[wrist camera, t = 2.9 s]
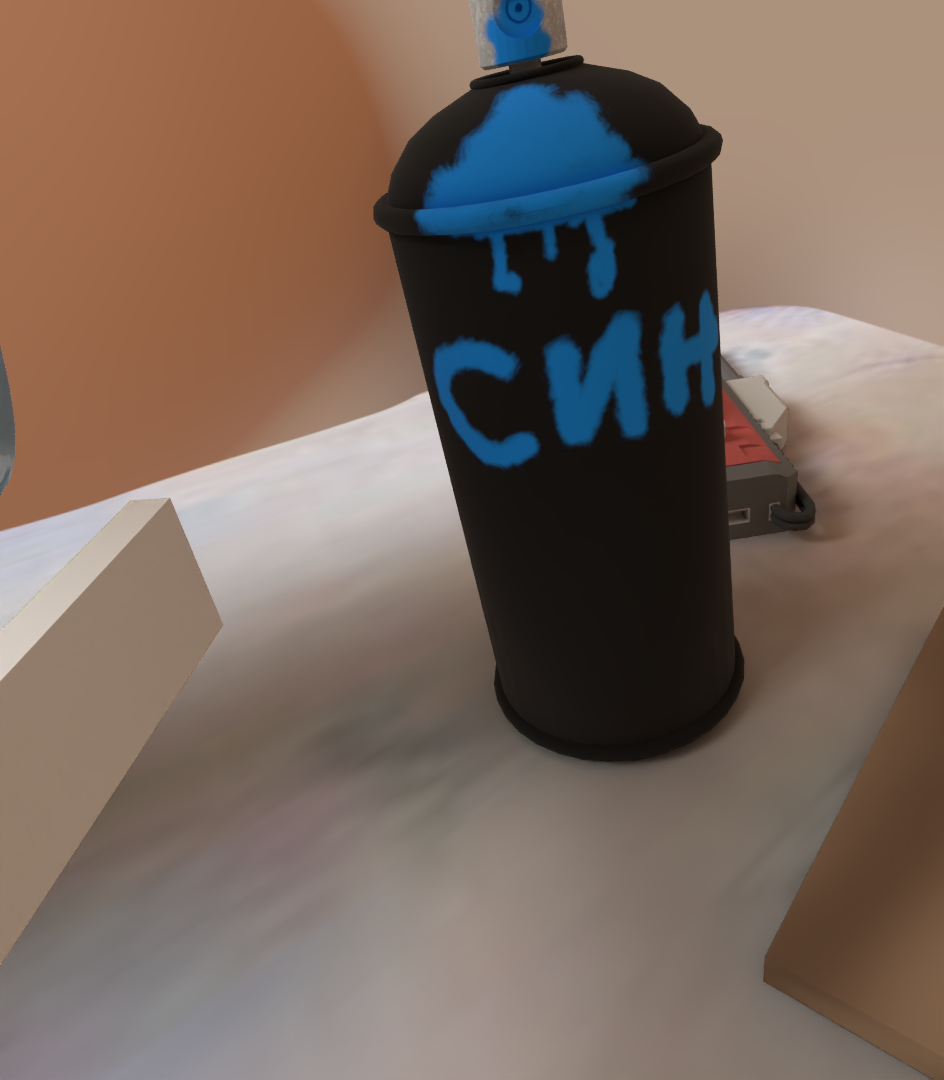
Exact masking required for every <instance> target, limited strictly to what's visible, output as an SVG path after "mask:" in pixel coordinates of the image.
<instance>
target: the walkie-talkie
mask: <svg viewBox="0 0 944 1080" xmlns="http://www.w3.org/2000/svg"><path fill="white" fill-rule="evenodd" d="M721 373H722V394H723V414H724V435H725V456H726V476H727V497H728V518H729V538H730V540H732V539H738V538H745V537H751V536H758V535H764V534H771V533H777V532H783V531H786V530H792V531H796V530H806V529H808V528H810V527H811V526H812V525H813V524H814V522H815V512H816V508H815V503H814V502H813V500H812V499H811V498H810V496H809V495H808V494H807V493H806V491H805V490H804V489H803V488H802V486H801V485H800V484H799V482H798V481H797V473H798V471H797V470H796V469H794V468H793V464H791V463H789V462H788V458H787V457H784V456H783V452H782V451H781V450H782V449H783V447H784V446H785V444H786V441H787V428H788V410H789V409H788V407H787V406H786V405H785V404H784V402H783V401H782V400H781V399H780V398H779V397H778V396H777V395H776V394H775V392H774V391H773V390H772V389H771V388H770V387H769V383H768V381H767V380H766V379H765V378H764V377H763V376H762V375H760V376H753V377H747V378H744V377H742V376H741V375H738V374H737V373H736V372H735V371H734V370H733V368H732V367H731V366H730V365H729V364H728V363H727V361H726V360H725V359H724V358H723V357H722V356H721ZM795 504H796V505H797V506H798V507H799V509H800V510H801V511H802V512H797V513H795Z"/></svg>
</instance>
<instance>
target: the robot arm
mask: <svg viewBox="0 0 944 1080" xmlns="http://www.w3.org/2000/svg"><path fill="white" fill-rule="evenodd" d="M14 458H15V423H14V414H13V406H12V400H11V394H10V388H9V383H8V378H7V373H6V368H5V364H4V360H3V355H2V351H1V348H0V495H1V493H2V492H3V490H4V489H5V487H6V486H7V484H8V482H9V479H10V477H11V473H12V469H13V463H14ZM222 626H223V624H222V621H221V619H220V616H219V614H218V612H217V609H216V607H215V605H214V602H213V600H212V597H211V595H210V593H209V590H208V588H207V585H206V583H205V581H204V578H203V576H202V573H201V571H200V569H199V566H198V564H197V561H196V559H195V557H194V554H193V552H192V550H191V547H190V545H189V542H188V540H187V538H186V535H185V533H184V530H183V528H182V526H181V523H180V521H179V518H178V516H177V514H176V511H175V509H174V506H173V504H172V502H171V499H170V498H161V499H147V500H132V501H129V502H128V503H127V504H126V505H125V506H124V507H123V508H122V509H121V510H120V511H119V512H118V513H117V514H116V515H115V516H114V517H113V518H112V519H111V520H110V521H109V522H108V523H107V524H106V525H105V526H104V527H103V528H102V529H101V530H100V531H99V532H98V533H97V534H96V535H95V536H94V537H93V538H92V539H91V540H90V541H89V542H88V543H87V544H86V545H85V546H84V547H83V548H82V549H81V550H80V551H79V552H78V553H77V554H76V555H75V556H74V557H73V558H72V559H71V560H70V561H69V562H68V563H67V564H66V565H65V566H64V567H63V568H62V569H61V570H60V571H59V572H58V573H57V574H56V575H55V576H54V577H53V578H52V579H51V580H50V581H49V582H48V583H47V584H46V585H45V586H44V587H43V588H42V589H41V590H40V591H39V592H38V593H37V594H36V595H35V596H34V597H33V598H32V599H31V600H30V601H29V602H28V603H27V604H26V605H25V606H24V607H23V608H22V609H21V610H20V611H19V612H18V613H17V614H16V615H15V616H14V617H13V618H12V619H11V620H10V621H9V622H8V623H7V624H6V625H5V626H4V627H3V628H2V629H1V630H0V965H1V964H2V962H3V961H4V959H5V958H6V956H7V955H8V953H9V952H10V950H11V949H12V947H13V946H14V944H15V943H16V941H17V939H18V938H19V936H20V935H21V933H22V932H23V930H24V929H25V927H26V926H27V924H28V923H29V921H30V920H31V918H32V917H33V915H34V913H35V912H36V910H37V909H38V907H39V906H40V904H41V903H42V901H43V900H44V898H45V897H46V895H47V894H48V892H49V891H50V889H51V887H52V886H53V884H54V883H55V881H56V880H57V878H58V877H59V875H60V874H61V872H62V871H63V869H64V868H65V866H66V865H67V863H68V861H69V860H70V858H71V857H72V855H73V854H74V852H75V851H76V849H77V848H78V846H79V845H80V843H81V842H82V840H83V839H84V837H85V835H86V834H87V832H88V831H89V829H90V828H91V826H92V825H93V823H94V822H95V820H96V819H97V817H98V816H99V814H100V813H101V811H102V809H103V808H104V806H105V805H106V803H107V802H108V800H109V799H110V797H111V796H112V794H113V793H114V791H115V790H116V788H117V787H118V785H119V783H120V782H121V780H122V779H123V777H124V776H125V774H126V773H127V771H128V770H129V768H130V767H131V765H132V764H133V762H134V761H135V759H136V757H137V756H138V754H139V753H140V751H141V750H142V748H143V747H144V745H145V744H146V742H147V741H148V739H149V738H150V736H151V735H152V733H153V731H154V730H155V728H156V727H157V725H158V724H159V722H160V721H161V719H162V718H163V716H164V715H165V713H166V712H167V710H168V709H169V707H170V705H171V704H172V702H173V701H174V699H175V698H176V696H177V695H178V693H179V692H180V690H181V689H182V687H183V686H184V684H185V683H186V681H187V679H188V678H189V676H190V675H191V673H192V672H193V670H194V669H195V667H196V666H197V664H198V663H199V661H200V660H201V658H202V657H203V655H204V653H205V652H206V650H207V649H208V647H209V646H210V644H211V643H212V641H213V640H214V638H215V637H216V635H217V634H218V632H219V630H220V629H221V627H222Z"/></svg>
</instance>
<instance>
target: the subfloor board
mask: <svg viewBox="0 0 944 1080" xmlns="http://www.w3.org/2000/svg"><path fill="white" fill-rule="evenodd" d="M763 981H764V982H766V983H768V984H770V985H771V986H773V987H775V988H776V989H778V990H780V991H782V992H783V993H785V994H787V995H788V996H790V997H792V998H794V999H795V1000H797V1001H799V1002H801V1003H802V1004H804V1005H806V1006H807V1007H809V1008H811V1009H813V1010H814V1011H816V1012H818V1013H819V1014H821V1015H823V1016H825V1017H826V1018H828V1019H830V1020H832V1021H833V1022H835V1023H837V1024H838V1025H840V1026H842V1027H844V1028H845V1029H847V1030H849V1031H850V1032H852V1033H854V1034H856V1035H857V1036H859V1037H861V1038H863V1039H864V1040H866V1041H868V1042H869V1043H871V1044H873V1045H875V1046H876V1047H878V1048H880V1049H881V1050H883V1051H885V1052H887V1053H888V1054H890V1055H892V1056H894V1057H895V1058H897V1059H899V1060H900V1061H902V1062H904V1063H906V1064H907V1065H909V1066H911V1067H912V1068H914V1069H916V1070H918V1071H919V1072H921V1073H923V1074H925V1075H926V1076H928V1077H930V1078H931V1079H933V1080H944V607H943V609H942V611H941V613H940V615H939V617H938V619H937V621H936V623H935V625H934V627H933V629H932V631H931V633H930V635H929V636H928V638H927V640H926V642H925V644H924V646H923V648H922V650H921V652H920V654H919V656H918V658H917V660H916V662H915V664H914V666H913V668H912V670H911V672H910V674H909V676H908V678H907V680H906V681H905V683H904V685H903V687H902V689H901V691H900V693H899V695H898V697H897V699H896V701H895V703H894V705H893V707H892V709H891V711H890V713H889V715H888V717H887V719H886V721H885V723H884V725H883V727H882V728H881V730H880V732H879V734H878V736H877V738H876V740H875V742H874V744H873V746H872V748H871V750H870V752H869V754H868V756H867V758H866V760H865V762H864V764H863V766H862V768H861V770H860V772H859V773H858V775H857V777H856V779H855V781H854V783H853V785H852V787H851V789H850V791H849V793H848V795H847V797H846V799H845V801H844V803H843V805H842V807H841V809H840V811H839V813H838V815H837V817H836V818H835V820H834V822H833V824H832V826H831V828H830V830H829V832H828V834H827V836H826V838H825V840H824V842H823V844H822V846H821V848H820V850H819V852H818V854H817V856H816V858H815V860H814V862H813V863H812V865H811V867H810V869H809V871H808V873H807V875H806V877H805V879H804V881H803V883H802V885H801V887H800V889H799V891H798V893H797V895H796V897H795V899H794V901H793V903H792V905H791V907H790V908H789V910H788V912H787V914H786V916H785V918H784V920H783V922H782V924H781V926H780V928H779V930H778V932H777V934H776V936H775V938H774V940H773V942H772V944H771V946H770V948H769V950H768V952H767V954H766V955H765V963H764V979H763Z"/></svg>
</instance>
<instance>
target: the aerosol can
mask: <svg viewBox="0 0 944 1080" xmlns="http://www.w3.org/2000/svg"><path fill="white" fill-rule="evenodd" d="M469 4H470V10H471V15H472V21H473V27H474V32H475V38H476V44H477V50H478V55H479V60H480V66H481V68H483V69H484V70H490V69H495V68H500V67H505V66H509V70H505V71H502V72H498V73H494V74H490V75H487V76H483V77H480V78H477V79H475V80H473V81H471V83H470V88H471V90H470V91H469V92H467V93H466V94H464V95H463V96H461V97H460V98H458V99H457V100H456V101H454V102H453V103H451V104H450V105H448V106H447V107H446V108H444V109H443V110H441V111H440V112H438V113H437V114H436V115H434V116H433V117H432V118H431V119H430V120H429V121H428V122H427V123H426V124H425V125H424V126H423V127H422V128H421V129H420V130H419V131H418V132H417V133H416V134H415V135H414V136H413V137H412V138H411V139H410V140H409V141H408V143H407V145H406V147H405V149H404V151H403V153H402V155H401V157H400V158H399V161H398V163H397V164H396V166H395V168H394V170H393V172H392V174H391V180H390V185H389V190H388V193H386V194H385V195H383V196H382V197H381V198H380V199H379V200H378V201H377V202H376V204H375V205H374V221H375V222H376V224H377V225H378V226H380V227H381V228H383V229H384V230H386V231H388V232H389V235H390V239H391V243H392V247H393V251H394V255H395V259H396V263H397V267H398V271H399V275H400V279H401V283H402V287H403V291H404V295H405V299H406V303H407V307H408V311H409V315H410V319H411V323H412V327H413V331H414V335H415V339H416V343H417V347H418V351H419V355H420V359H421V363H422V367H423V371H424V375H425V379H426V383H427V387H428V391H429V395H430V399H431V403H432V407H433V411H434V415H435V419H436V423H437V427H438V431H439V435H440V439H441V443H442V447H443V451H444V455H445V459H446V463H447V467H448V471H449V475H450V479H451V483H452V487H453V491H454V495H455V499H456V503H457V507H458V511H459V515H460V519H461V523H462V527H463V531H464V535H465V539H466V543H467V547H468V551H469V555H470V559H471V563H472V567H473V571H474V576H475V580H476V584H477V588H478V592H479V596H480V600H481V604H482V608H483V612H484V616H485V620H486V624H487V628H488V632H489V636H490V640H491V644H492V648H493V652H494V656H495V660H496V670H495V681H494V686H495V691H496V696H497V701H498V702H499V704H500V706H501V708H502V710H503V712H504V714H505V716H506V717H507V719H508V720H509V721H510V722H511V723H512V724H513V725H514V726H515V728H516V729H517V730H518V731H519V732H520V733H522V734H523V735H525V736H526V737H527V738H529V739H530V740H532V741H533V742H535V743H536V744H538V745H540V746H542V747H545V748H547V749H549V750H552V751H554V752H556V753H559V754H563V755H567V756H571V757H575V758H579V759H585V760H598V761H622V760H636V759H641V758H646V757H650V756H654V755H659V754H663V753H666V752H669V751H671V750H673V749H676V748H678V747H681V746H683V745H686V744H688V743H690V742H692V741H693V740H695V739H697V738H698V737H700V736H701V735H703V734H705V733H706V732H708V731H709V730H710V729H712V728H713V727H714V726H715V725H716V724H717V723H718V722H719V721H720V720H721V719H722V718H723V717H724V716H725V715H726V714H727V713H728V711H729V710H730V708H731V707H732V705H733V704H734V702H735V701H736V699H737V697H738V694H739V691H740V688H741V685H742V682H743V679H744V658H743V655H742V651H741V648H740V644H739V642H738V640H737V638H736V637H735V635H734V621H733V600H732V580H731V559H730V538H729V518H728V497H727V476H726V456H725V435H724V414H723V394H722V373H721V352H720V332H719V311H718V290H717V270H716V251H715V250H716V249H715V229H714V209H713V188H712V168H711V163H712V162H713V161H714V160H715V159H716V158H717V157H718V156H719V155H720V152H721V147H722V142H723V139H722V136H721V134H720V133H719V132H718V131H716V130H715V129H713V128H712V127H711V126H706V125H702V124H699V123H698V121H697V119H696V117H695V116H694V114H693V112H692V111H691V109H690V108H689V107H688V106H687V105H686V104H684V103H683V102H682V101H681V100H680V99H678V98H677V97H676V96H675V95H674V94H673V93H672V92H670V91H669V90H668V89H667V88H666V87H665V86H664V85H662V84H661V83H660V82H657V81H655V80H652V79H649V78H647V77H644V76H641V75H639V74H636V73H634V72H631V71H628V70H622V69H615V68H609V67H603V66H597V65H591V64H585V63H583V61H584V59H583V57H582V56H580V55H575V56H568V57H563V58H557V59H552V60H548V61H543V62H541V59H540V58H543V57H547V56H550V55H554V54H557V53H561V52H564V51H565V50H566V48H567V39H566V31H565V23H564V15H563V7H562V0H469Z"/></svg>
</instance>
